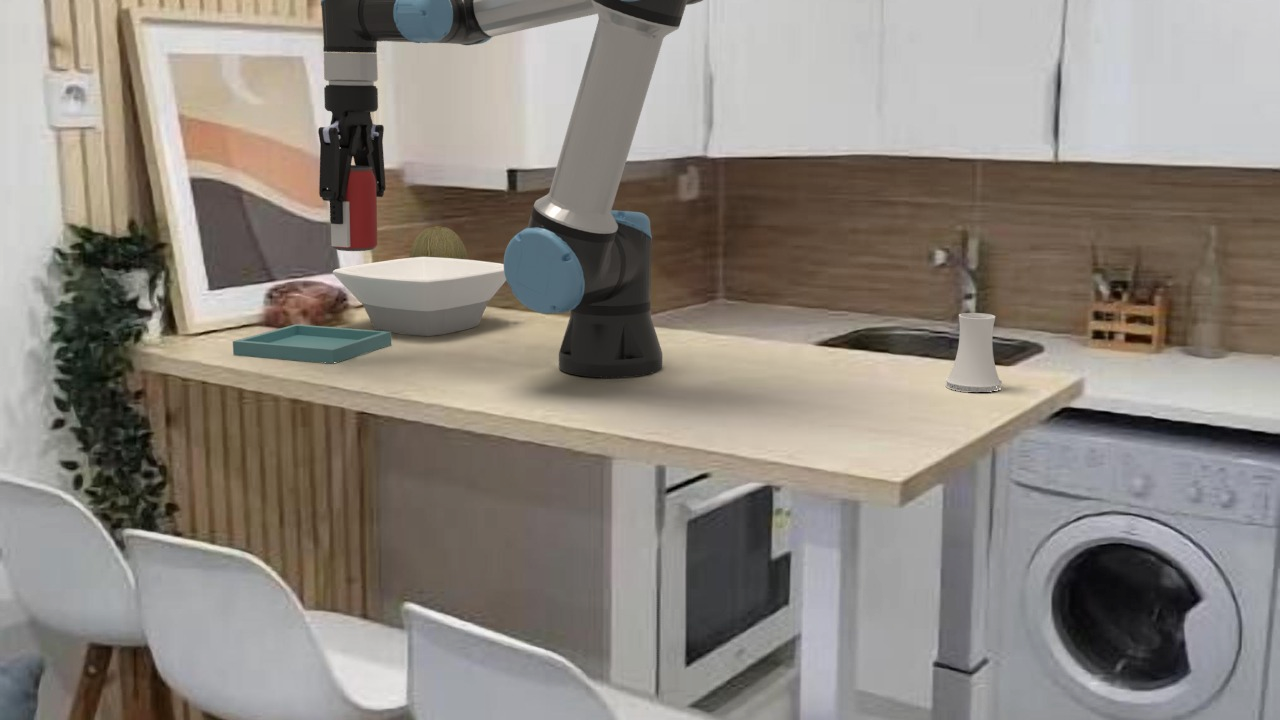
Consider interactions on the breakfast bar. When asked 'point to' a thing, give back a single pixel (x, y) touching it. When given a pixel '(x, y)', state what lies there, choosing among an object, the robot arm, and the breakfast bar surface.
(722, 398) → the breakfast bar surface
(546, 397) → the breakfast bar surface
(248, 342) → the tray
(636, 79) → the robot arm
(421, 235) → the fruit
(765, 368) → the breakfast bar surface
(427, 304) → the bowl
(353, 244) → the beer can
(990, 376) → the cooling tower model
